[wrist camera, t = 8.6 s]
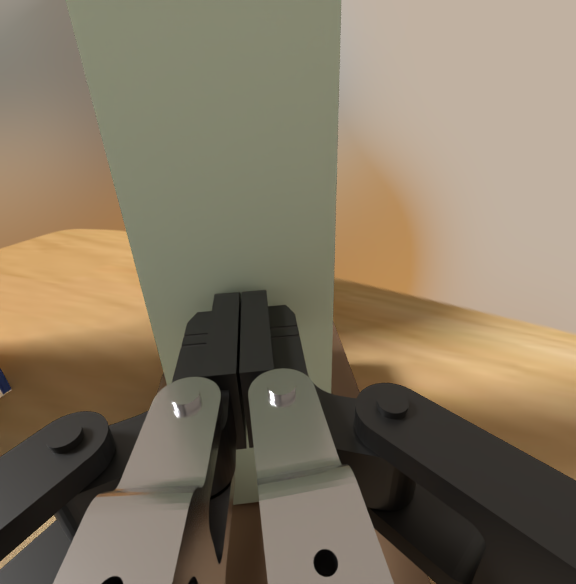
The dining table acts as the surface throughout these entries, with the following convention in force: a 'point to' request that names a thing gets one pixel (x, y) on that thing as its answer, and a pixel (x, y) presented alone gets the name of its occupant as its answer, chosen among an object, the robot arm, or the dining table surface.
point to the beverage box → (4, 385)
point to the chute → (247, 519)
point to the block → (222, 158)
